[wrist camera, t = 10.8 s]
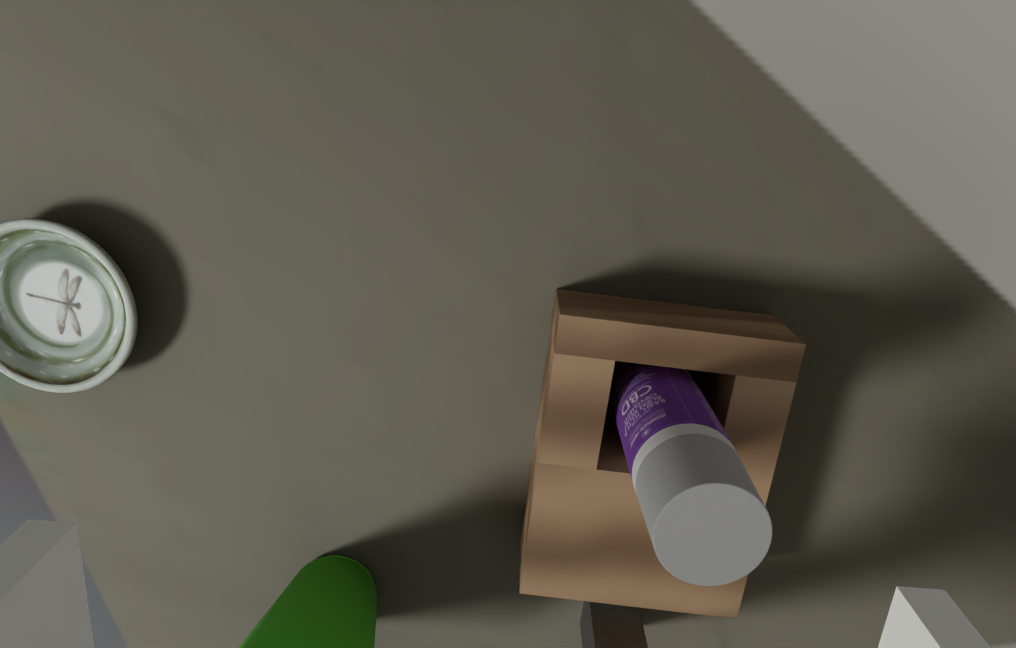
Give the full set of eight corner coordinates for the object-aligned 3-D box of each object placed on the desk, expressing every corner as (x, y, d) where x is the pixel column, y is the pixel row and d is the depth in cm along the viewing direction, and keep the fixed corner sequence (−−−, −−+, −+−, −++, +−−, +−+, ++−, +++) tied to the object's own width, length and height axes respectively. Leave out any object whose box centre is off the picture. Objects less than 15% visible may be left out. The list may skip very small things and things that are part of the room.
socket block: (556, 288, 40) (560, 314, 35) (773, 315, 40) (806, 344, 35) (520, 540, 45) (519, 593, 40) (714, 563, 45) (736, 618, 40)
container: (622, 336, 41) (673, 465, 26) (702, 358, 41) (796, 498, 27) (596, 411, 42) (632, 572, 28) (674, 432, 42) (748, 602, 28)
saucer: (-32, 210, 40) (-67, 217, 38) (143, 214, 40) (120, 221, 37) (2, 376, 43) (-29, 392, 40) (166, 380, 42) (145, 396, 40)
